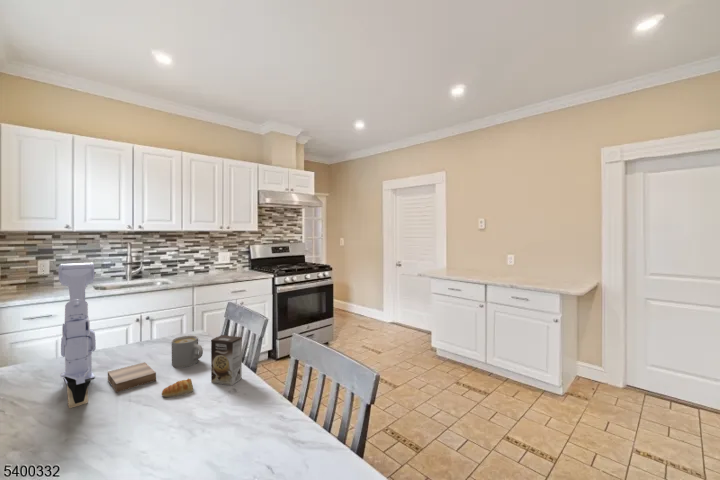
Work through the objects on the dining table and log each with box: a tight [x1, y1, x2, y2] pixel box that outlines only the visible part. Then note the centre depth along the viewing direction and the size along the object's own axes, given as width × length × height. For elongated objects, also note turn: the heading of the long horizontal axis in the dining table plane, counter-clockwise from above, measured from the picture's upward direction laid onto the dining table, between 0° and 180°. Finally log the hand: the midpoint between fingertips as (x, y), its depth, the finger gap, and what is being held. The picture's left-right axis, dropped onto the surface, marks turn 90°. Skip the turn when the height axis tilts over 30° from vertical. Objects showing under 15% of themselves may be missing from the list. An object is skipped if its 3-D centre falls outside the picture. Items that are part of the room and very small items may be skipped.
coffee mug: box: [171, 335, 204, 369], centre depth 136 cm, size 13×10×10 cm
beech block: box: [66, 385, 89, 409], centre depth 104 cm, size 4×4×6 cm
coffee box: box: [210, 334, 243, 386], centre depth 120 cm, size 9×6×16 cm
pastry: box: [161, 377, 194, 398], centre depth 112 cm, size 9×7×4 cm
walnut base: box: [107, 361, 157, 393], centre depth 120 cm, size 14×12×3 cm
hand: (77, 398), depth 104 cm, fingers open, 6 cm apart
